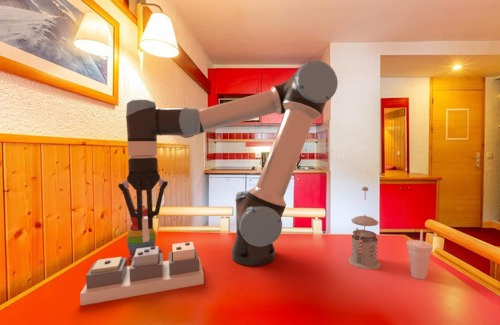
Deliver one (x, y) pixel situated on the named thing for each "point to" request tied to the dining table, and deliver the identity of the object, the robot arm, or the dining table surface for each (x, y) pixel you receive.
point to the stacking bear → (139, 236)
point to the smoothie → (419, 257)
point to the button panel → (141, 279)
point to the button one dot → (107, 264)
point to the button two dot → (183, 251)
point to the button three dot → (146, 256)
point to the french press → (364, 243)
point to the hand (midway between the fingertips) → (146, 240)
